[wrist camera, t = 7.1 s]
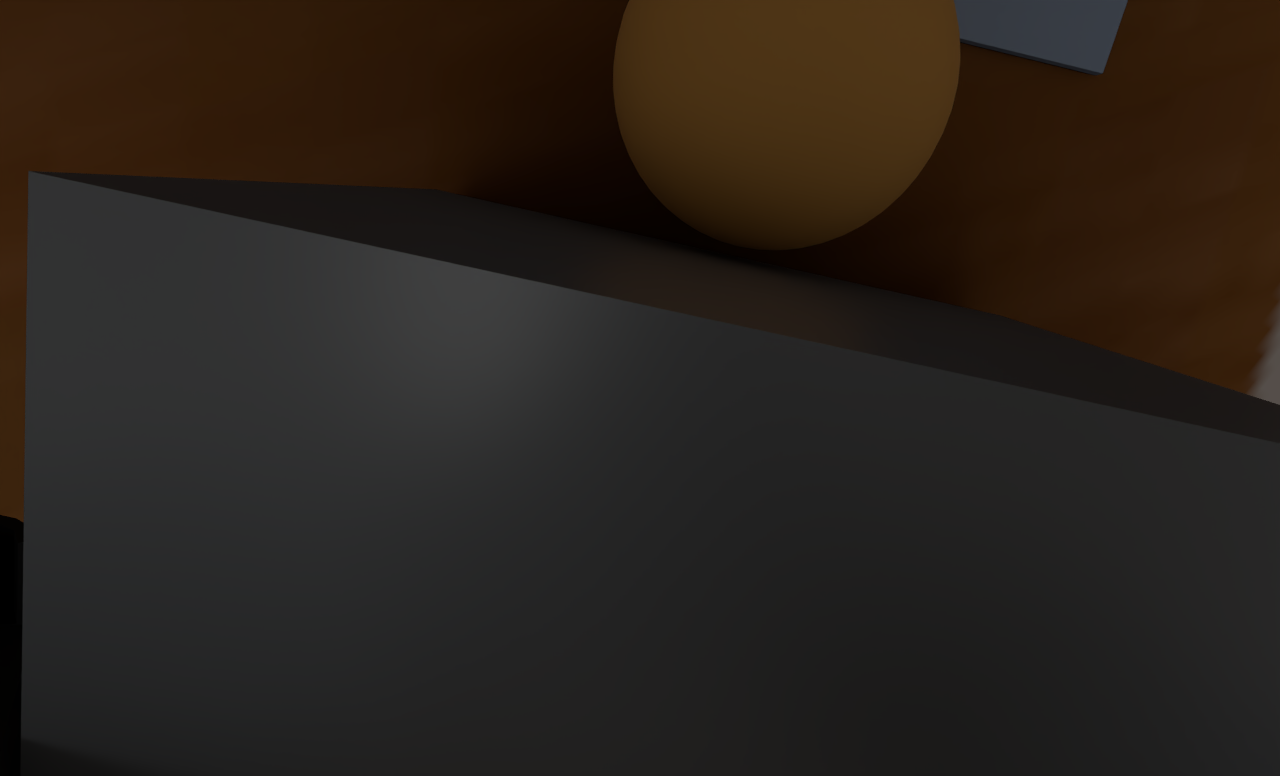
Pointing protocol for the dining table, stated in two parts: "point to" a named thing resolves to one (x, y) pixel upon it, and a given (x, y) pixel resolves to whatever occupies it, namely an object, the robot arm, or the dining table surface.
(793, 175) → the ball
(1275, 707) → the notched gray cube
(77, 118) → the dining table surface
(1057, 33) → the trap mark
